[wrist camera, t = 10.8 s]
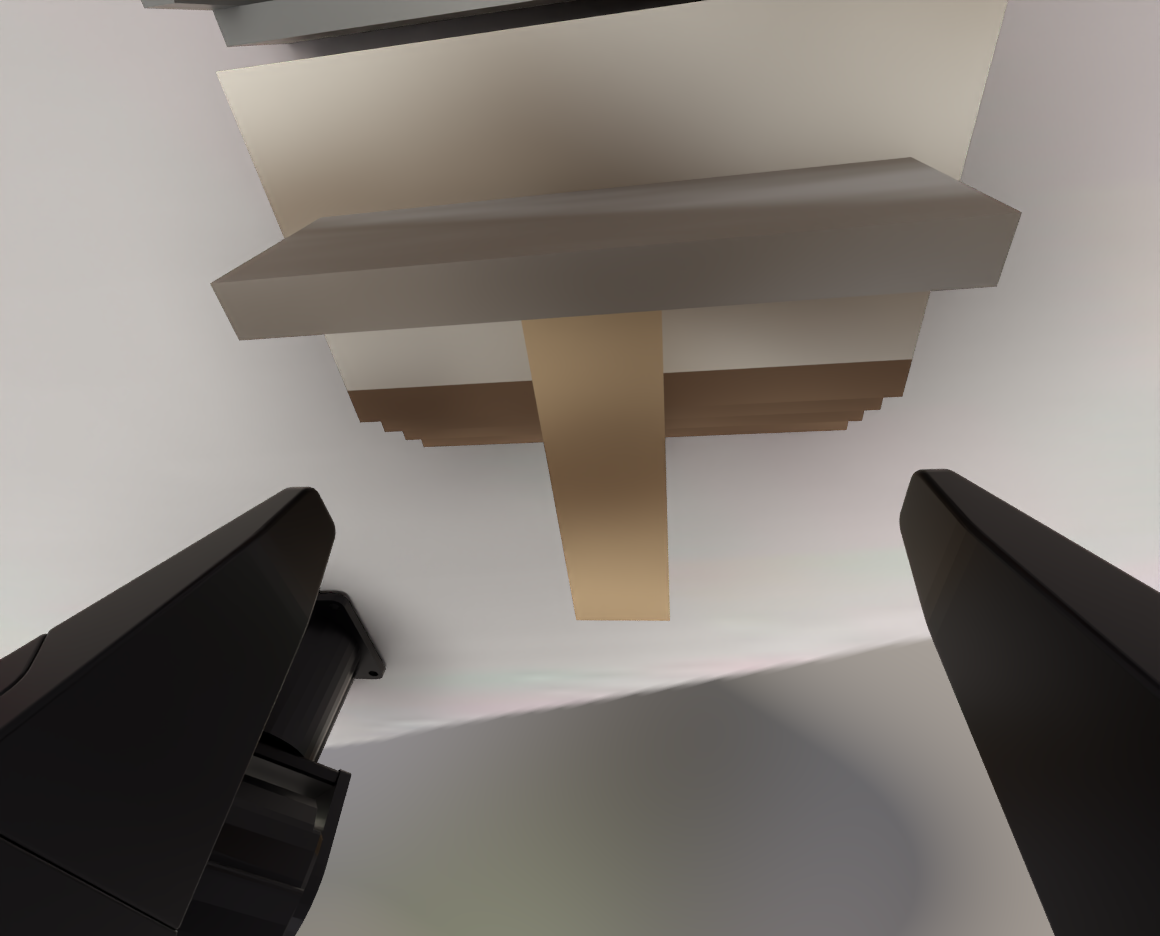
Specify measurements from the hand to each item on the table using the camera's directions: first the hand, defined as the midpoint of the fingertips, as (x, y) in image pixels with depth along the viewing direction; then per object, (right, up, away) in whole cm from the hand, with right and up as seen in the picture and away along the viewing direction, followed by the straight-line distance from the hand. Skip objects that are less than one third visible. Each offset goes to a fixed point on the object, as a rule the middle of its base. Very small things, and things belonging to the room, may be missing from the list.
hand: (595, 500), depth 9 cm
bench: (+1, +6, +8) cm, 10 cm away
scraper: (+1, +2, +6) cm, 6 cm away
